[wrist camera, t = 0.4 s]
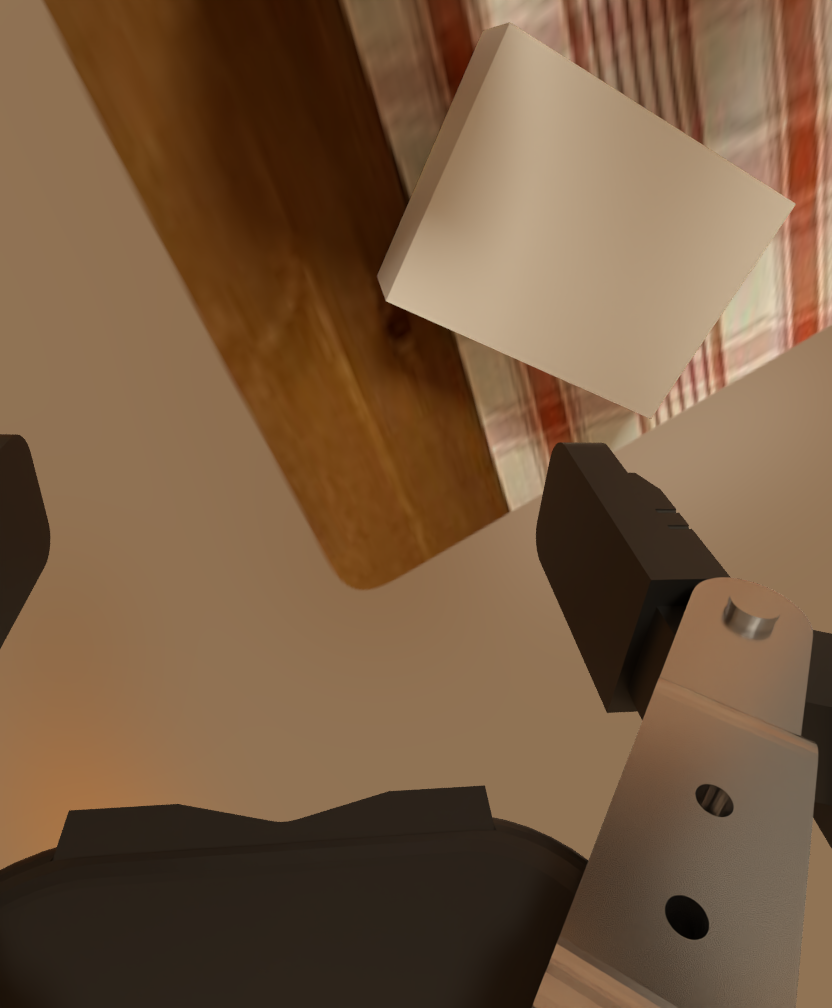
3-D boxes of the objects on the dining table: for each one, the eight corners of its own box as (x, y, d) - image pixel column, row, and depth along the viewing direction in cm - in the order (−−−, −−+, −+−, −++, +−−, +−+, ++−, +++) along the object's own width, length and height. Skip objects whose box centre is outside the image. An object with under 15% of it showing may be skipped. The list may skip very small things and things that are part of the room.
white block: (482, 30, 31) (510, 22, 27) (739, 190, 37) (796, 203, 32) (376, 276, 36) (385, 301, 32) (616, 385, 42) (650, 419, 38)
